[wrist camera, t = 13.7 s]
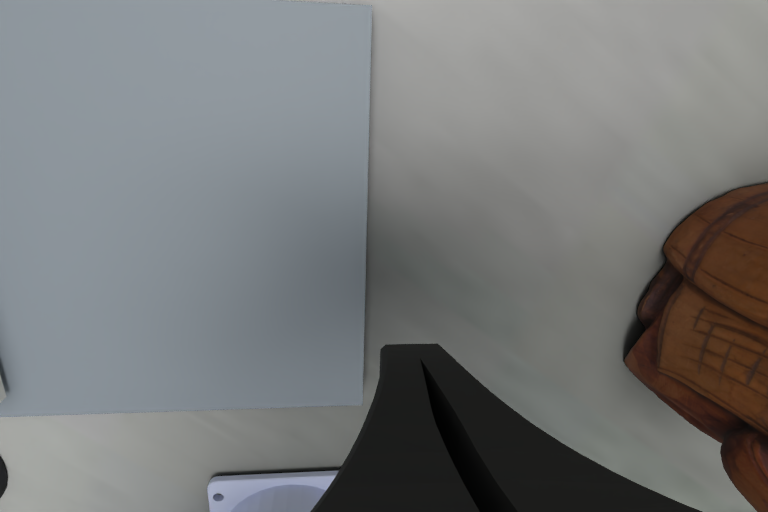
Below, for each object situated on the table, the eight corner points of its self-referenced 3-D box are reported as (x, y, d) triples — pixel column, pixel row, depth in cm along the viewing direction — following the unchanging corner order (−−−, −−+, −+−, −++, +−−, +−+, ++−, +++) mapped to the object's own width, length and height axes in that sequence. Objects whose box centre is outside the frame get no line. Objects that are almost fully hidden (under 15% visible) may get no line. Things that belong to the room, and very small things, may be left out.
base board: (360, 383, 22) (365, 436, 19) (-201, 399, 20) (-310, 463, 17) (368, 12, 17) (377, -6, 14) (-400, -30, 15) (-621, -65, 11)
